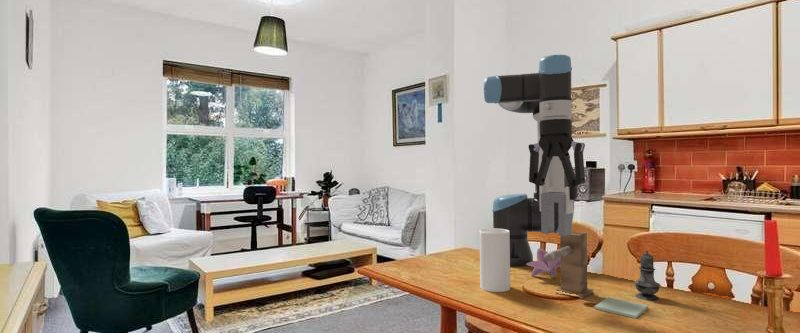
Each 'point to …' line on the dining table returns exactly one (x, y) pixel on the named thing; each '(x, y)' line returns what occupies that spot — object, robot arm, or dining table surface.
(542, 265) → the lily
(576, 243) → the peg stand
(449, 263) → the dining table surface
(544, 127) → the robot arm
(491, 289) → the cup
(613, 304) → the mat
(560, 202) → the grey slotted block
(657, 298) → the salt shaker
